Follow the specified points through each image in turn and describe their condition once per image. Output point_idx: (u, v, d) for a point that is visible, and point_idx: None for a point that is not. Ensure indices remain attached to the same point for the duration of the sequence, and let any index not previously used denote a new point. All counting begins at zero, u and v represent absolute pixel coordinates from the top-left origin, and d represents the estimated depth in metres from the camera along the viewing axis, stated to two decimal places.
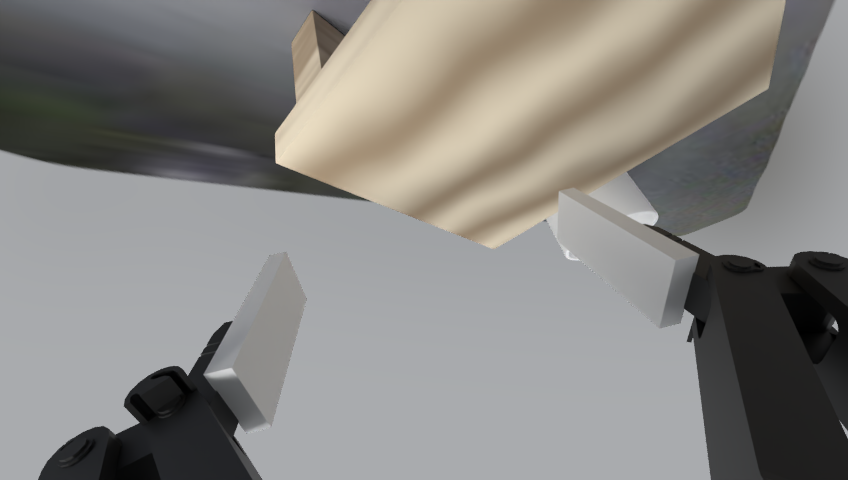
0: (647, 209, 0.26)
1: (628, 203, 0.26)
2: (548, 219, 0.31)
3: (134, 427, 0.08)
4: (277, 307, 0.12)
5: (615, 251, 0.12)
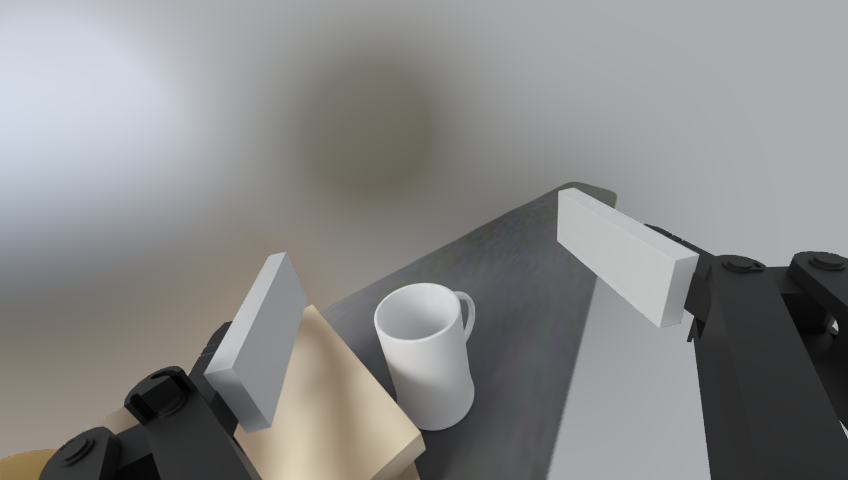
0: None
1: None
2: (430, 371, 0.28)
3: (134, 427, 0.08)
4: (277, 307, 0.12)
5: (615, 251, 0.12)
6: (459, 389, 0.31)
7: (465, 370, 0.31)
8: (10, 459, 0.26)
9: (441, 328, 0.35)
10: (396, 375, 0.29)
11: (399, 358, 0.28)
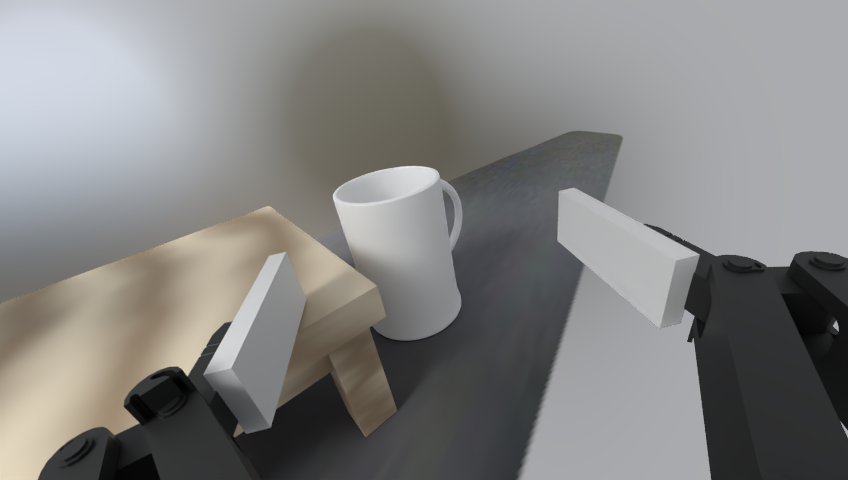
0: None
1: None
2: (401, 251, 0.22)
3: (134, 427, 0.08)
4: (277, 307, 0.12)
5: (615, 251, 0.12)
6: (440, 286, 0.25)
7: (448, 264, 0.25)
8: None
9: None
10: (361, 264, 0.24)
11: (362, 233, 0.22)
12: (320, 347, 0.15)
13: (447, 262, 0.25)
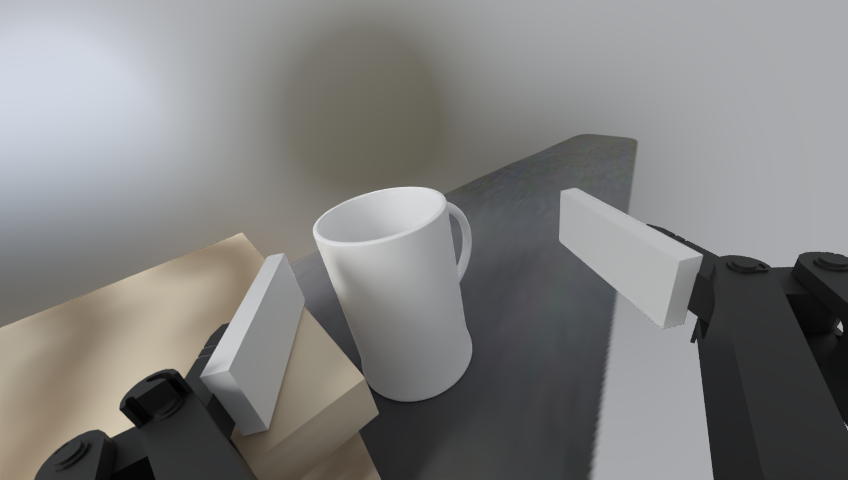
0: None
1: None
2: (399, 300, 0.17)
3: (130, 430, 0.08)
4: (275, 308, 0.12)
5: (618, 251, 0.12)
6: (448, 336, 0.20)
7: (457, 309, 0.21)
8: None
9: None
10: (350, 313, 0.19)
11: (349, 279, 0.17)
12: None
13: (456, 306, 0.20)
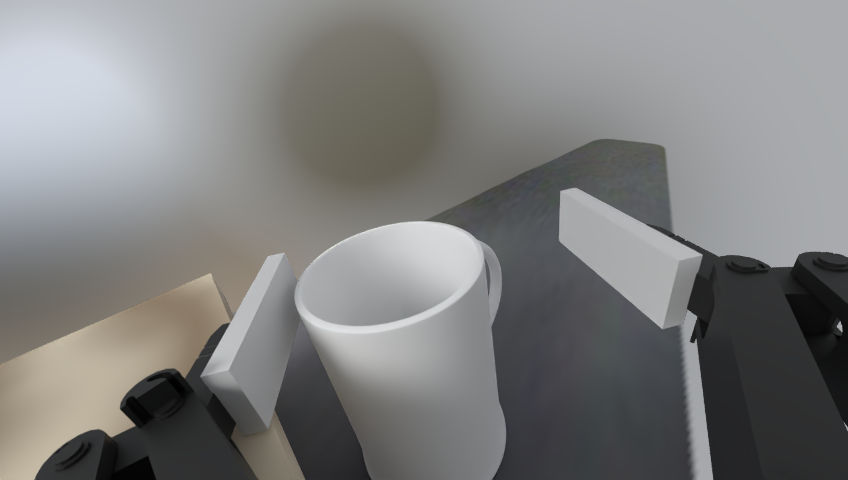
0: None
1: None
2: (419, 401, 0.12)
3: (130, 430, 0.08)
4: (275, 308, 0.12)
5: (617, 251, 0.12)
6: (482, 431, 0.15)
7: (493, 391, 0.15)
8: None
9: None
10: (347, 407, 0.14)
11: (345, 371, 0.12)
12: None
13: (492, 388, 0.15)
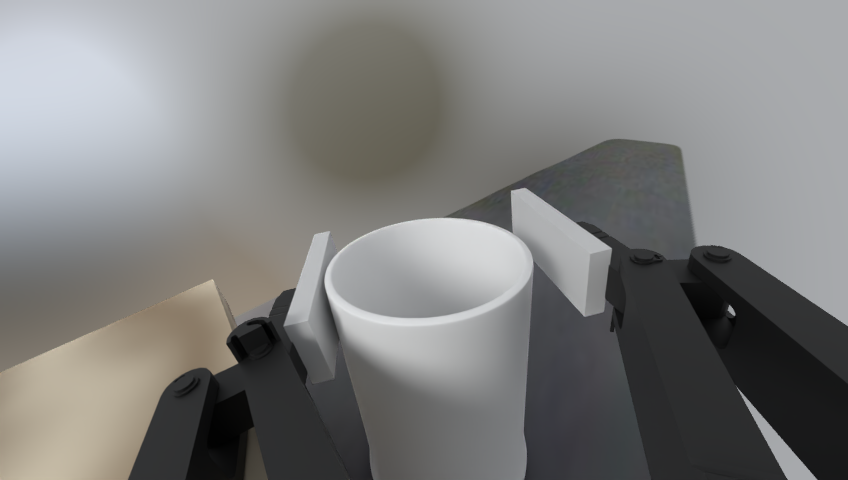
0: None
1: None
2: (456, 408, 0.11)
3: (225, 370, 0.09)
4: None
5: (551, 246, 0.13)
6: (511, 448, 0.14)
7: (524, 404, 0.14)
8: None
9: None
10: (369, 411, 0.12)
11: (378, 369, 0.11)
12: None
13: (524, 402, 0.14)
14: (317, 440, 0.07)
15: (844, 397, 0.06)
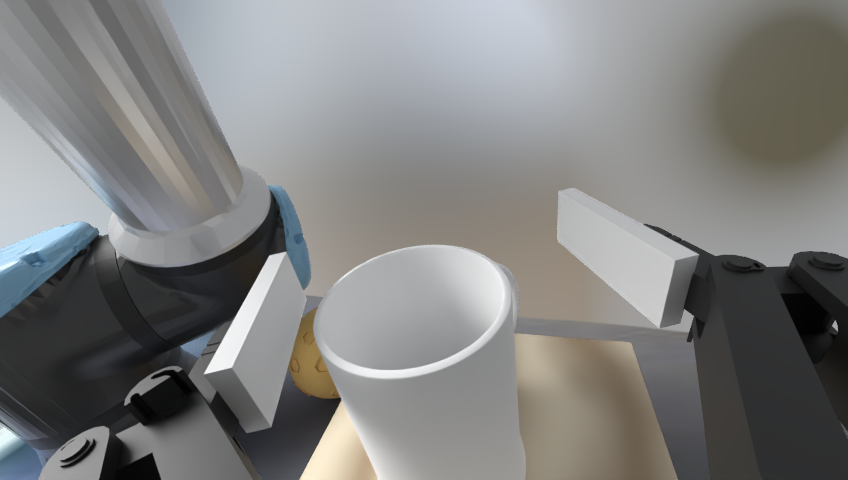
0: None
1: None
2: (446, 443, 0.11)
3: (134, 427, 0.08)
4: (277, 307, 0.12)
5: (615, 251, 0.12)
6: (506, 466, 0.14)
7: (516, 423, 0.15)
8: None
9: (459, 334, 0.19)
10: (367, 444, 0.13)
11: (369, 413, 0.11)
12: None
13: (516, 421, 0.14)
14: None
15: None
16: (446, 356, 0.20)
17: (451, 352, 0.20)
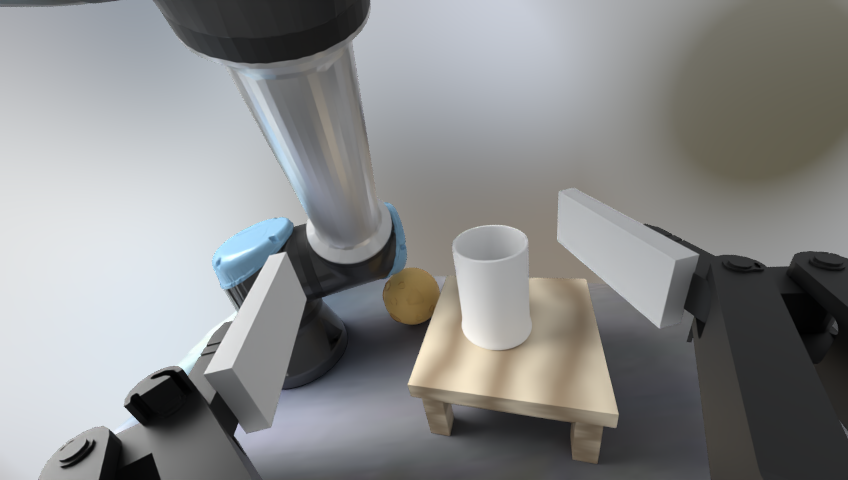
0: None
1: None
2: (505, 290, 0.33)
3: (134, 427, 0.08)
4: (277, 307, 0.12)
5: (615, 251, 0.12)
6: (524, 312, 0.36)
7: (528, 296, 0.36)
8: (420, 270, 0.55)
9: None
10: (472, 298, 0.34)
11: (479, 279, 0.32)
12: (574, 417, 0.30)
13: (528, 295, 0.36)
14: None
15: None
16: None
17: None
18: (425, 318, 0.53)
